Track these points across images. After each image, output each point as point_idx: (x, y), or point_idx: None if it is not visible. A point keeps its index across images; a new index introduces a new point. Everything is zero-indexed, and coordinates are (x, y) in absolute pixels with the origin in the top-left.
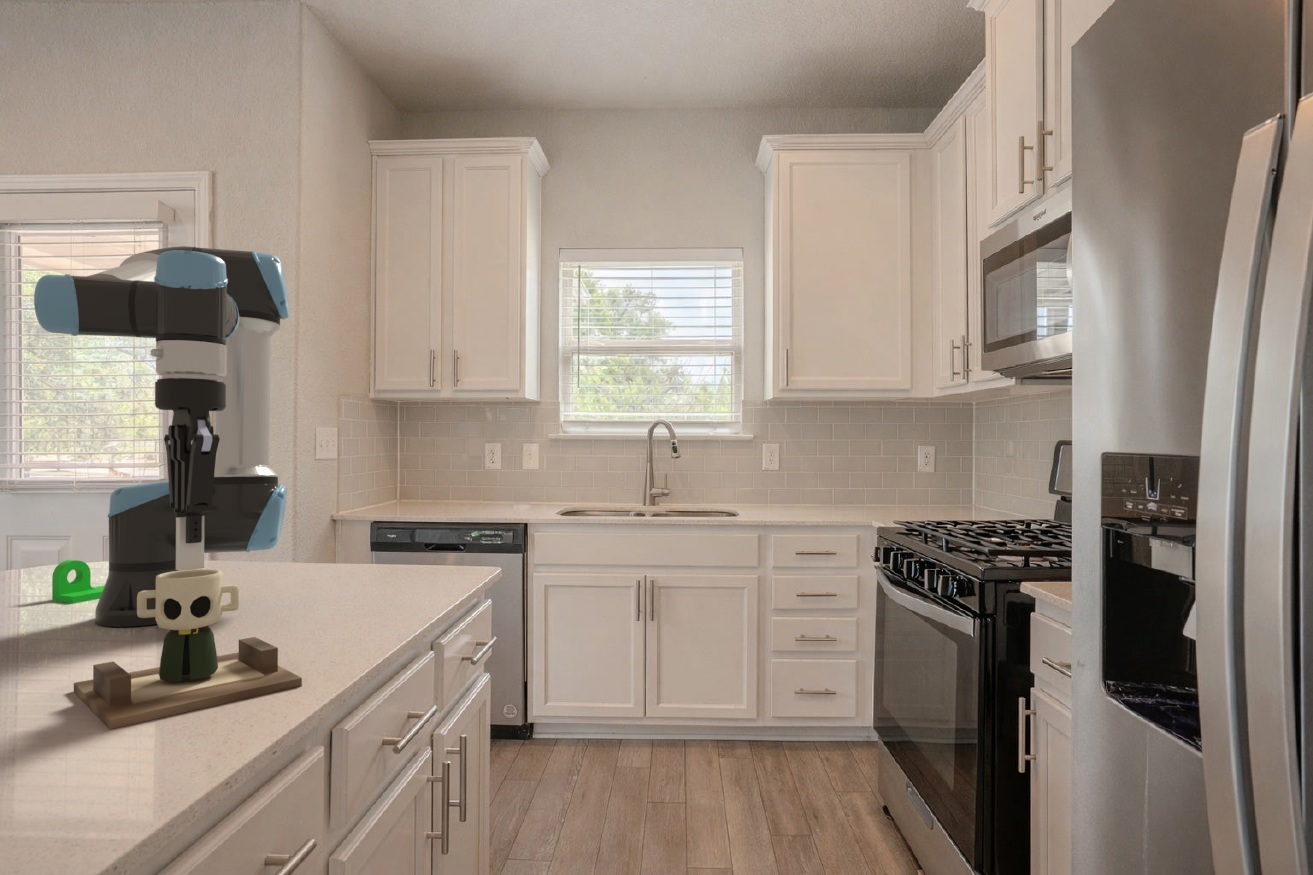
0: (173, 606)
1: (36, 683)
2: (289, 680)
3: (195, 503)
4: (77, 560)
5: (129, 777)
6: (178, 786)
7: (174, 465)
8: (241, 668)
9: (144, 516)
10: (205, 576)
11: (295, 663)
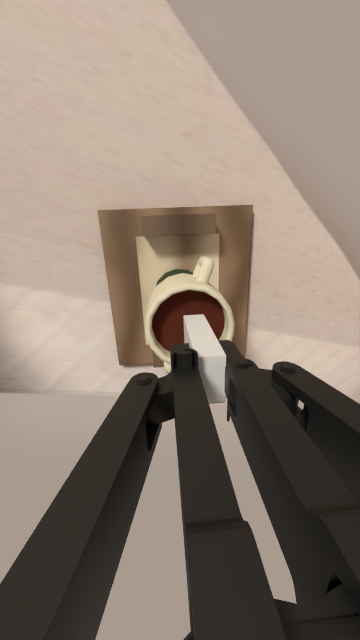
0: None
1: (74, 380)
2: (251, 218)
3: (297, 407)
4: None
5: (337, 355)
6: None
7: (114, 560)
8: (179, 243)
9: None
10: (232, 316)
11: (162, 176)
